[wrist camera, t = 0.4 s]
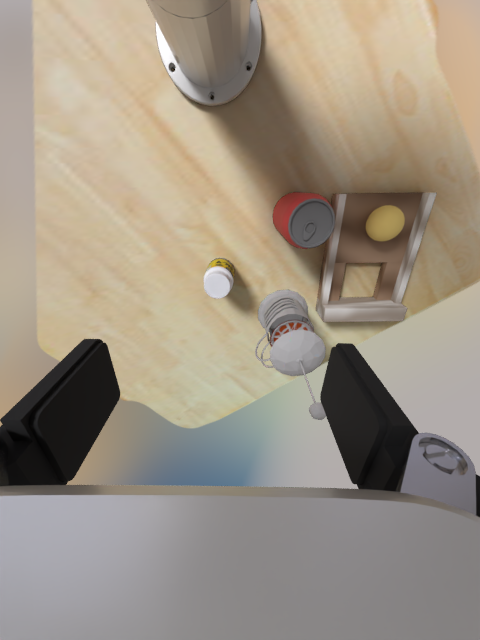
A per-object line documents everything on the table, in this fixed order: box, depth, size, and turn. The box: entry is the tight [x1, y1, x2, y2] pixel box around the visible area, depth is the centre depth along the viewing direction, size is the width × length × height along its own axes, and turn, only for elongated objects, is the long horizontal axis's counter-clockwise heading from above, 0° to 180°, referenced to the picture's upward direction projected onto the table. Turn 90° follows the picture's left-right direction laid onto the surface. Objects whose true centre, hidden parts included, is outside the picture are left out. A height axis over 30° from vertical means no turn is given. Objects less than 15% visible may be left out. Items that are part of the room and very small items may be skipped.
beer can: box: [273, 192, 335, 249], centre depth 34 cm, size 7×7×12 cm
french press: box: [255, 290, 326, 420], centre depth 37 cm, size 10×12×25 cm
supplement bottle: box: [204, 258, 234, 298], centre depth 40 cm, size 5×5×8 cm
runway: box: [316, 193, 437, 322], centre depth 41 cm, size 20×14×5 cm
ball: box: [366, 205, 405, 241], centre depth 36 cm, size 5×5×5 cm
